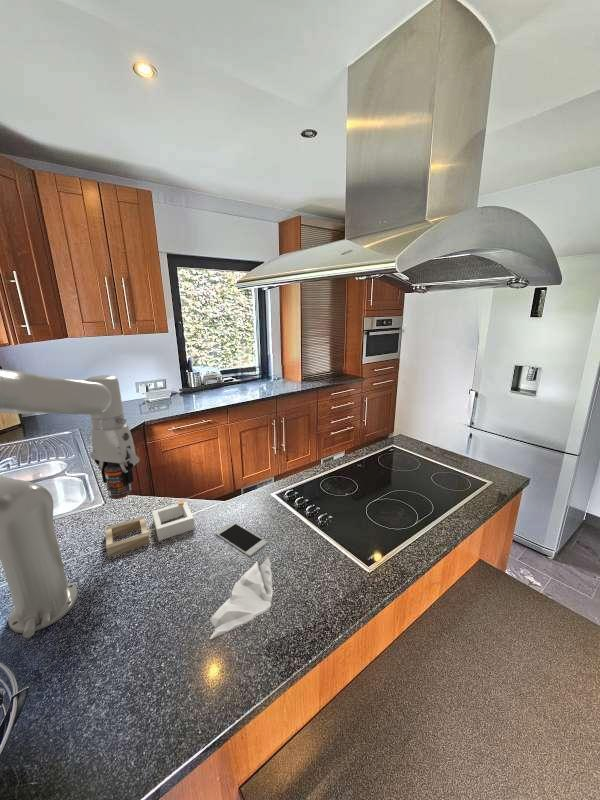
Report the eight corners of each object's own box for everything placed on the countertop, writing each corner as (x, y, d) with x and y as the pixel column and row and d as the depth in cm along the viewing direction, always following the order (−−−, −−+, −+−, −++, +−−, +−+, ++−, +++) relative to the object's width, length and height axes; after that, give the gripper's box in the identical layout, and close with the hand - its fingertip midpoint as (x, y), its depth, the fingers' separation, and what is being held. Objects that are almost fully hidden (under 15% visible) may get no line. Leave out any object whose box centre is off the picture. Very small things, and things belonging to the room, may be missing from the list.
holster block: (149, 543, 95) (148, 535, 94) (108, 557, 90) (106, 548, 89) (145, 524, 104) (144, 516, 103) (107, 535, 99) (105, 527, 98)
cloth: (226, 659, 64) (225, 651, 63) (183, 622, 72) (182, 614, 71) (302, 575, 84) (302, 567, 84) (262, 553, 92) (262, 546, 91)
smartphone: (249, 558, 90) (249, 555, 90) (215, 535, 99) (214, 532, 99) (267, 544, 95) (267, 541, 95) (233, 523, 104) (233, 521, 104)
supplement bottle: (109, 502, 89) (102, 464, 86) (108, 492, 94) (101, 456, 91) (133, 496, 92) (127, 459, 89) (131, 487, 97) (125, 451, 94)
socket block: (194, 528, 101) (193, 516, 100) (158, 541, 96) (156, 527, 95) (187, 511, 110) (185, 499, 109) (153, 521, 105) (151, 509, 104)
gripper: (145, 419, 89) (153, 479, 93) (93, 415, 93) (104, 472, 97) (125, 428, 81) (135, 492, 86) (70, 423, 86) (82, 485, 90)
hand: (118, 481), depth 92 cm, fingers closed on supplement bottle, 6 cm apart
